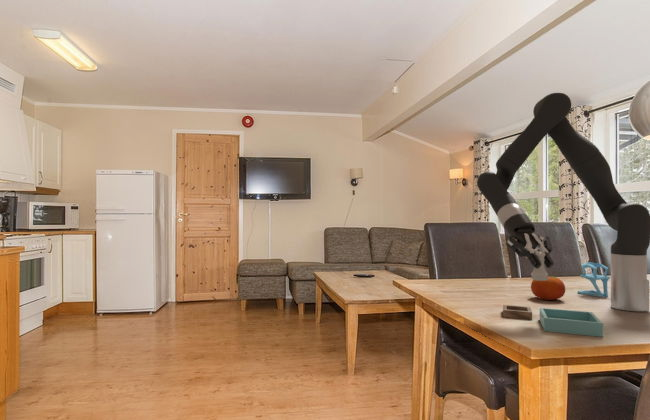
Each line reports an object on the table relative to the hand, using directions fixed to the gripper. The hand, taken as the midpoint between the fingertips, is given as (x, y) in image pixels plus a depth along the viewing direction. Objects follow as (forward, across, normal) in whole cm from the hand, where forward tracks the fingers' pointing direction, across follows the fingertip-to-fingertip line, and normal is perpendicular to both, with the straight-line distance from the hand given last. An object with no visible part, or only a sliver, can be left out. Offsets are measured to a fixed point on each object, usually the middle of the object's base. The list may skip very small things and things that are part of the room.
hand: (544, 266), depth 113 cm
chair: (-10, +47, +33) cm, 58 cm away
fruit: (-7, +24, +30) cm, 39 cm away
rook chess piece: (+2, 0, +4) cm, 5 cm away
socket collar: (+5, -3, +17) cm, 18 cm away
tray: (+15, +2, +7) cm, 17 cm away
